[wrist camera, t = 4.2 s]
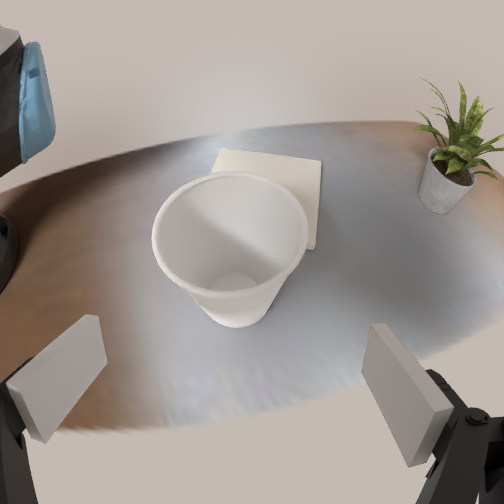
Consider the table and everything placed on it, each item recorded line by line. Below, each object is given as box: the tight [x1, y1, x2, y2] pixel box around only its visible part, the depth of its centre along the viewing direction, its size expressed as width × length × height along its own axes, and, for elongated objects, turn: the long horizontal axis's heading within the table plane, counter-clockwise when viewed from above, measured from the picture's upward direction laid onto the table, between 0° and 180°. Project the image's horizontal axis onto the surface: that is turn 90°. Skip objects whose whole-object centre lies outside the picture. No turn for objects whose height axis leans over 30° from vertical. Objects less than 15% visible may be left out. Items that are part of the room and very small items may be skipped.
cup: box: [152, 171, 309, 328], centre depth 24 cm, size 10×10×11 cm
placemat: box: [210, 148, 321, 251], centre depth 35 cm, size 13×13×1 cm
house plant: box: [414, 79, 504, 215], centre depth 29 cm, size 14×14×16 cm
